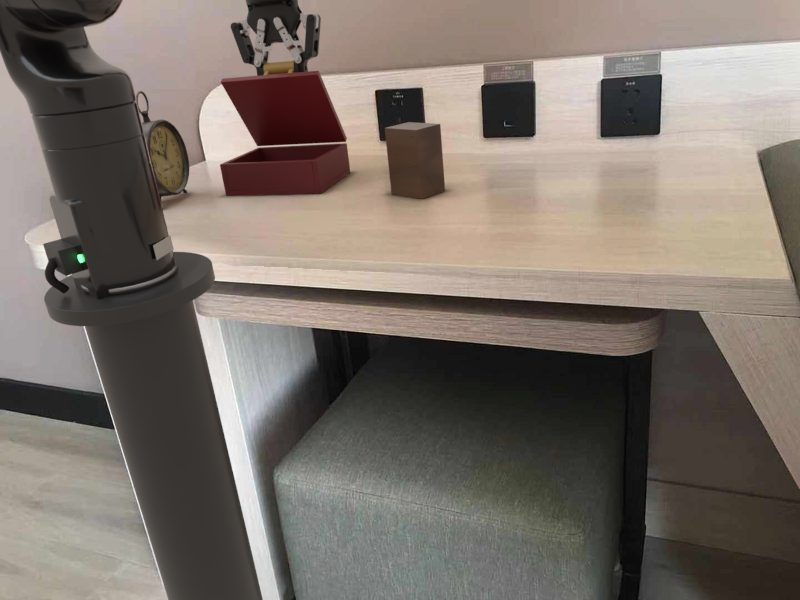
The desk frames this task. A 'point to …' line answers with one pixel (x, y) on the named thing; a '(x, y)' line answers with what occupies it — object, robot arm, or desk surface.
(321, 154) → the box base
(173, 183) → the alarm clock
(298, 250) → the desk surface
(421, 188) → the bookend
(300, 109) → the box lid
